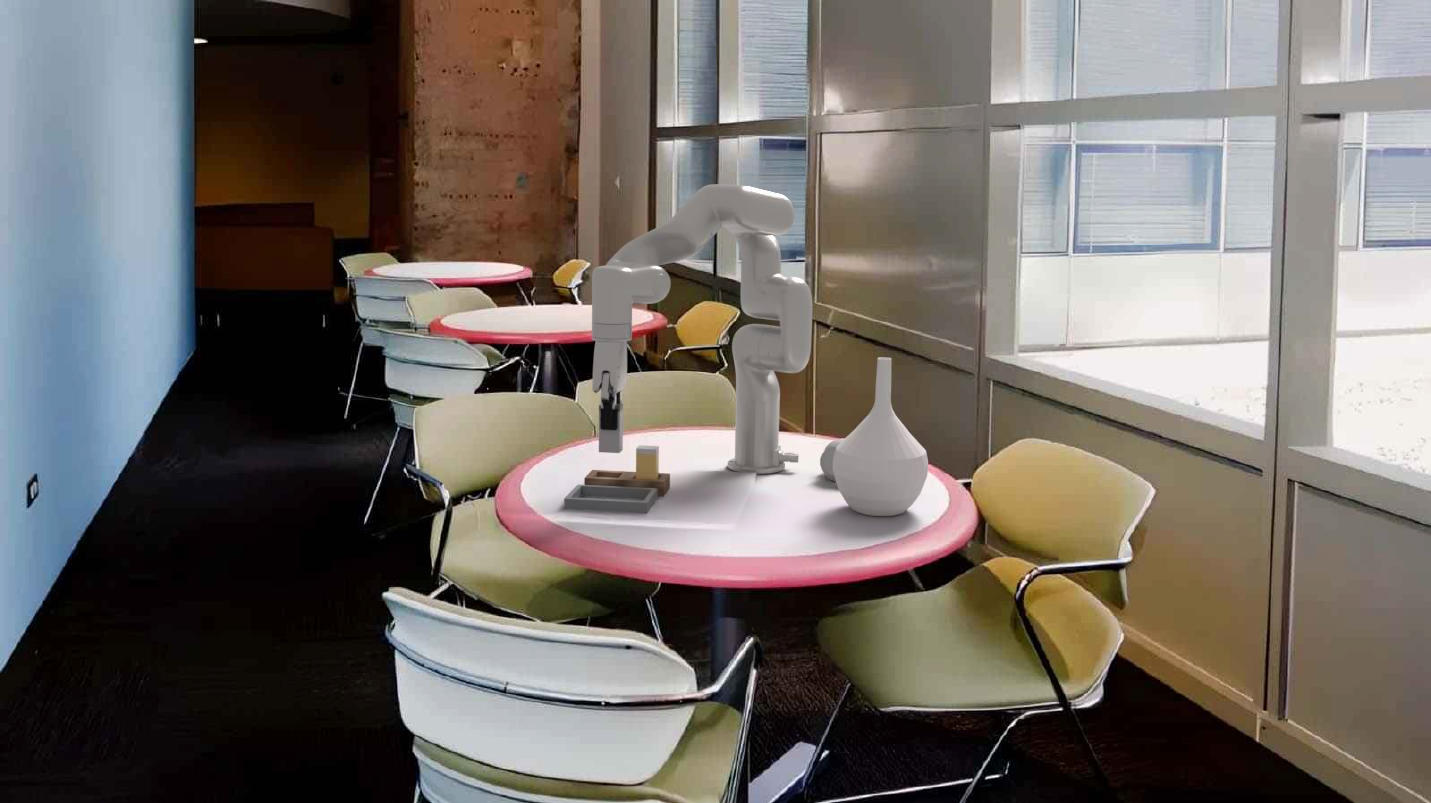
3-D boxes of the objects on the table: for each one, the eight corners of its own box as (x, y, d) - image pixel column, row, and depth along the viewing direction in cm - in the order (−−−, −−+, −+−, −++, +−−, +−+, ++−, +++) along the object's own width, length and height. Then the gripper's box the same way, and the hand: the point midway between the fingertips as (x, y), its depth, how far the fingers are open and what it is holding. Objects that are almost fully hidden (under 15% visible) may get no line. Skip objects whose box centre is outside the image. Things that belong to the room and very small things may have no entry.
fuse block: (669, 492, 266) (669, 473, 265) (663, 501, 259) (664, 481, 258) (592, 488, 268) (592, 469, 267) (584, 497, 261) (584, 477, 260)
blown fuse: (622, 449, 252) (623, 403, 251) (619, 453, 249) (619, 406, 248) (602, 448, 253) (602, 402, 251) (598, 452, 250) (599, 405, 248)
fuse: (658, 489, 264) (658, 446, 262) (655, 493, 261) (656, 449, 259) (638, 488, 264) (639, 445, 263) (635, 492, 261) (636, 448, 260)
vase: (832, 521, 247) (838, 364, 242) (829, 496, 265) (834, 350, 260) (931, 524, 246) (938, 367, 241) (921, 499, 264) (927, 352, 259)
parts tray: (657, 503, 258) (657, 488, 257) (647, 518, 247) (647, 502, 246) (577, 499, 260) (577, 484, 259) (564, 513, 249) (564, 498, 248)
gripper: (601, 326, 255) (601, 419, 259) (582, 336, 239) (581, 435, 243) (639, 327, 254) (638, 420, 258) (622, 338, 238) (621, 437, 242)
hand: (611, 426), depth 250 cm, fingers closed on blown fuse, 3 cm apart
